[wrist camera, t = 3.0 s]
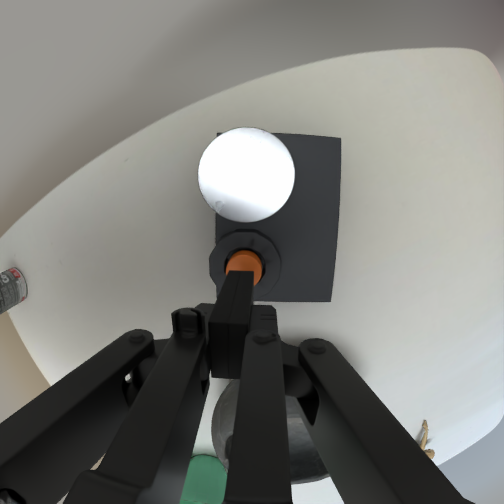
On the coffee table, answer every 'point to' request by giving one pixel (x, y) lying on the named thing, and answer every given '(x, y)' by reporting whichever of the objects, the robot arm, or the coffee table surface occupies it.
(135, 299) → the coffee table surface
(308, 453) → the bowl
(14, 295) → the pill bottle
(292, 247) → the scale
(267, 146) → the scale pan
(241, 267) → the button
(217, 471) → the mug
